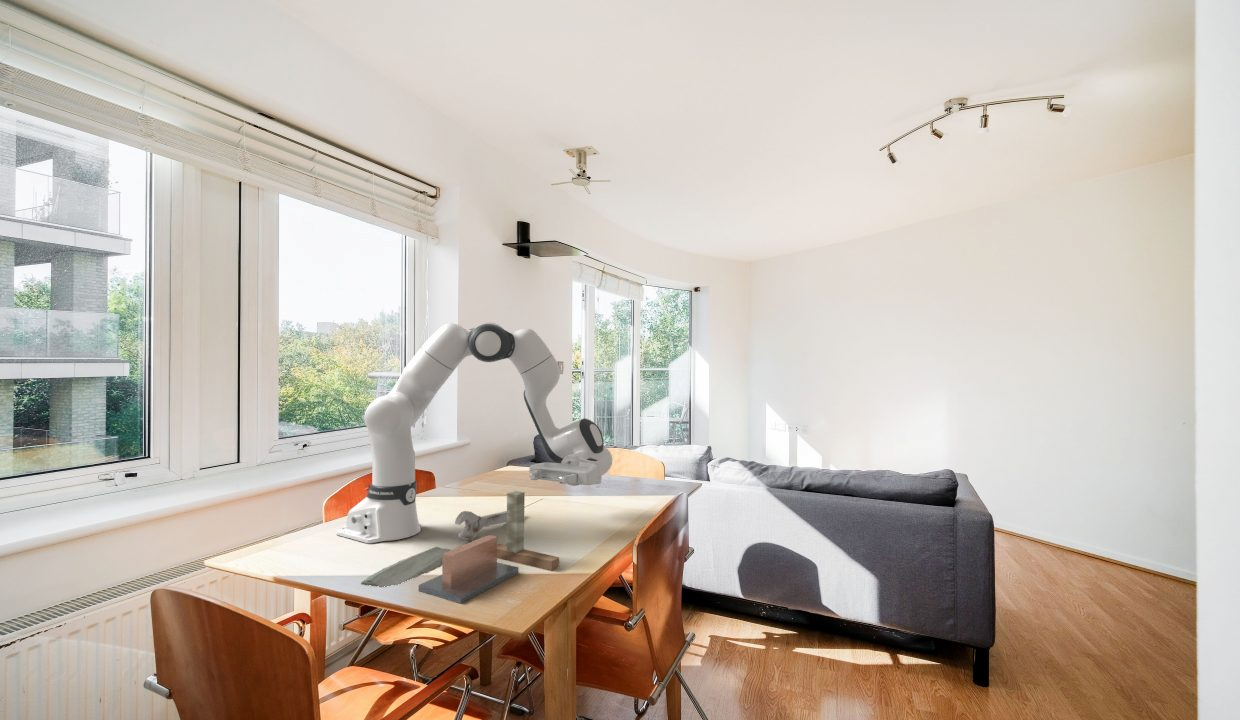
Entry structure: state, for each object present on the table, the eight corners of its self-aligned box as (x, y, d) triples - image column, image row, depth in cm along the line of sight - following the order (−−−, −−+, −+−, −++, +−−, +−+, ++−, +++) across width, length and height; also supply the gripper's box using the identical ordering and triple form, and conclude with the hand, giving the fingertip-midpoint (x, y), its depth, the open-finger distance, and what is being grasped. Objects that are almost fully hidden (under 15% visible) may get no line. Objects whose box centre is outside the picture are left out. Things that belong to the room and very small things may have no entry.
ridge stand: (418, 590, 113) (419, 552, 113) (479, 562, 129) (479, 529, 129) (460, 603, 108) (460, 563, 108) (518, 572, 123) (518, 537, 123)
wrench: (523, 526, 167) (458, 545, 140) (518, 526, 168) (452, 544, 141) (525, 500, 168) (460, 513, 141) (520, 499, 169) (455, 512, 142)
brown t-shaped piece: (474, 553, 136) (474, 488, 136) (482, 549, 139) (483, 485, 139) (551, 572, 125) (552, 500, 125) (559, 567, 127) (559, 497, 127)
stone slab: (460, 562, 134) (429, 551, 138) (461, 551, 134) (430, 541, 138) (391, 599, 113) (356, 586, 117) (392, 587, 113) (357, 573, 117)
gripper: (546, 455, 159) (515, 463, 147) (605, 461, 150) (578, 470, 137) (546, 476, 159) (516, 486, 147) (606, 483, 150) (578, 495, 137)
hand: (546, 478), depth 142 cm, fingers open, 8 cm apart
